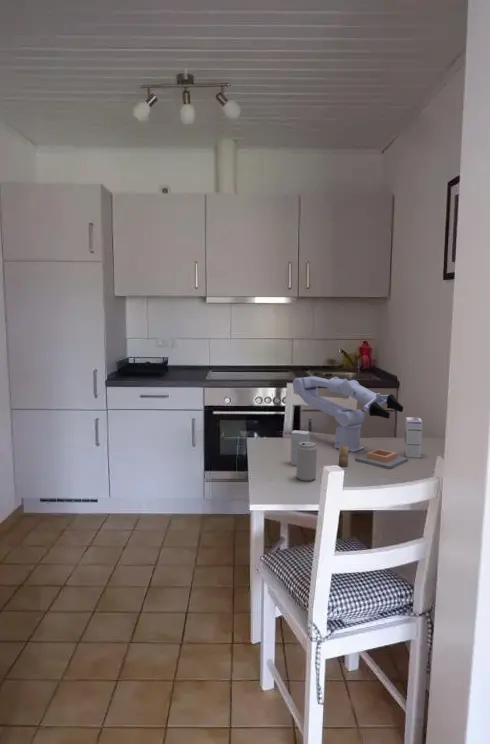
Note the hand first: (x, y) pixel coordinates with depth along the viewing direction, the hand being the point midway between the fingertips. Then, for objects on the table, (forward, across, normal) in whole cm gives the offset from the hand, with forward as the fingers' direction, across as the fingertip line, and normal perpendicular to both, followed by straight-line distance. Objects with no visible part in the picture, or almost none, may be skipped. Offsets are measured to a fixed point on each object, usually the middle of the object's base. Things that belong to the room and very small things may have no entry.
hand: (395, 412), depth 189 cm
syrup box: (+5, +8, +20) cm, 22 cm away
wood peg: (-2, -23, +15) cm, 28 cm away
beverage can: (0, -44, +10) cm, 45 cm away
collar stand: (+2, -8, +17) cm, 19 cm away
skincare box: (-12, -35, +16) cm, 40 cm away
